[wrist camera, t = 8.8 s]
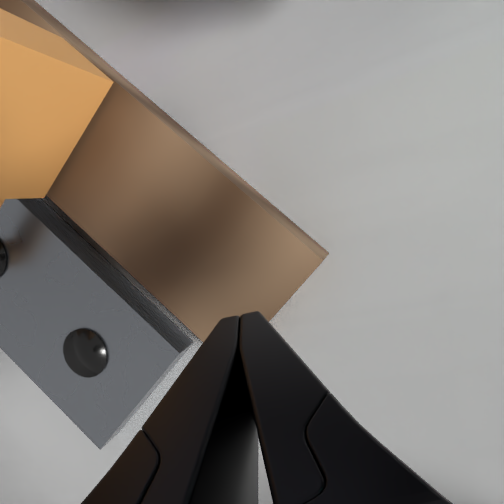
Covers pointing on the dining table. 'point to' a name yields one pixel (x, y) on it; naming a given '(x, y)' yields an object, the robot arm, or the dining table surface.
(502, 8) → the dining table surface
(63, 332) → the bolt hole plate
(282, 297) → the rail
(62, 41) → the block
